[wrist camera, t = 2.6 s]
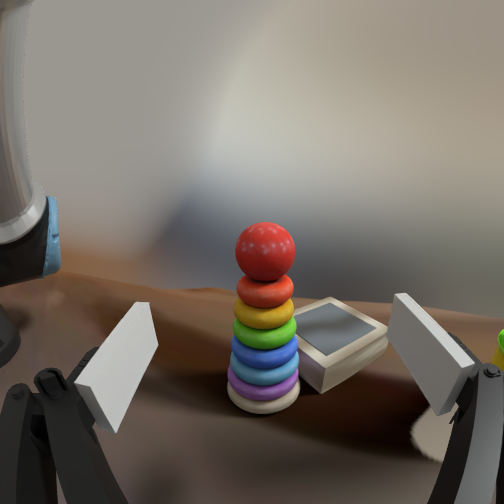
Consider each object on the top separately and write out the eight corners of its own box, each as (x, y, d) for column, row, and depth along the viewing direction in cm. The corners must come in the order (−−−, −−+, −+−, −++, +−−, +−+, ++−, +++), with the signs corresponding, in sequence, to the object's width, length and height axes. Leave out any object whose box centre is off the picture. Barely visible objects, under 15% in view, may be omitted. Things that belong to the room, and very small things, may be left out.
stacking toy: (306, 412, 25) (325, 233, 19) (228, 420, 24) (209, 238, 18) (292, 366, 32) (299, 214, 27) (227, 371, 32) (215, 217, 26)
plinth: (264, 343, 37) (264, 319, 36) (327, 318, 43) (330, 296, 41) (320, 393, 27) (325, 367, 26) (385, 352, 33) (391, 328, 31)
